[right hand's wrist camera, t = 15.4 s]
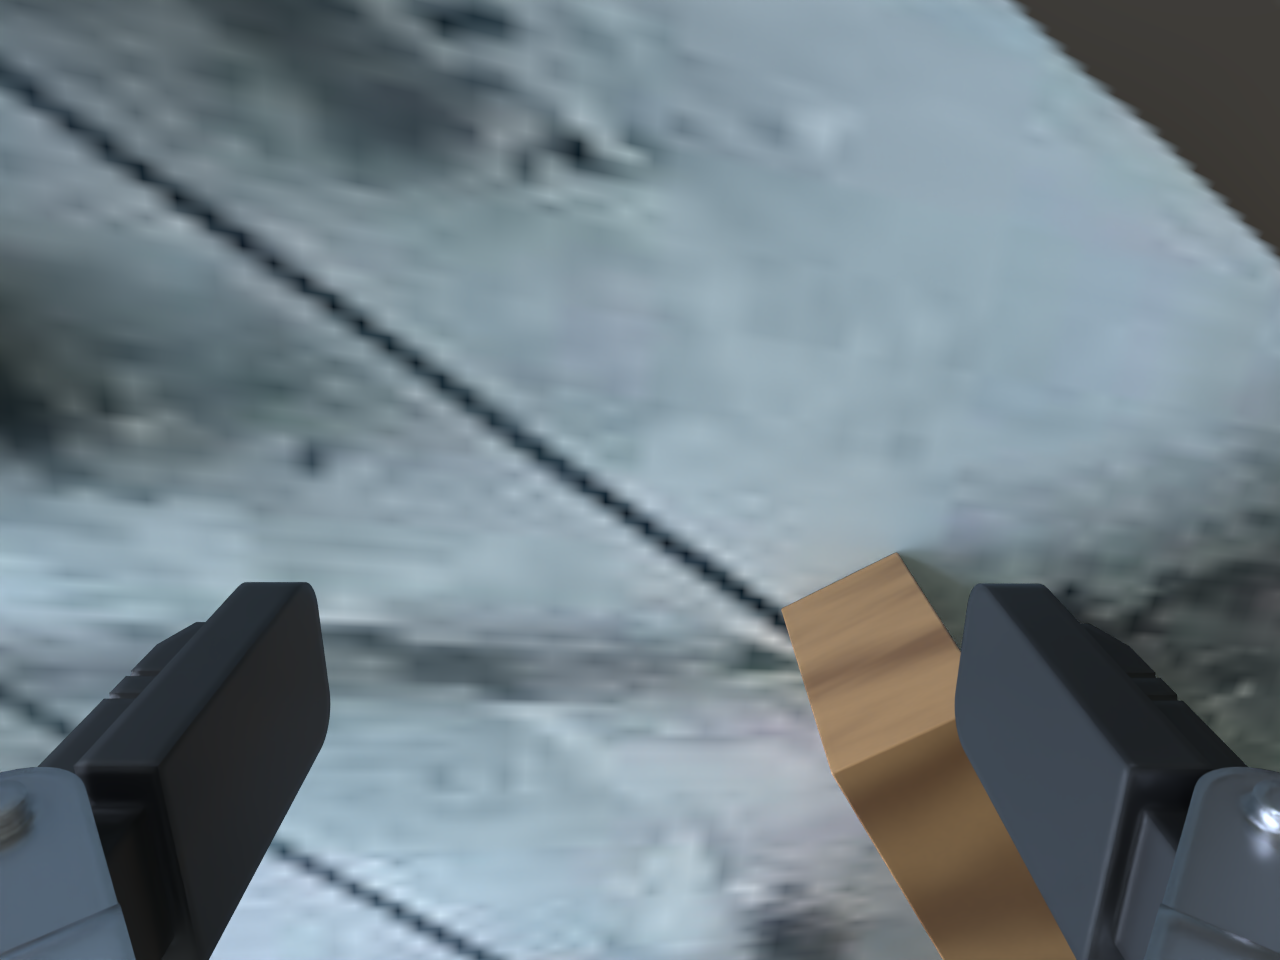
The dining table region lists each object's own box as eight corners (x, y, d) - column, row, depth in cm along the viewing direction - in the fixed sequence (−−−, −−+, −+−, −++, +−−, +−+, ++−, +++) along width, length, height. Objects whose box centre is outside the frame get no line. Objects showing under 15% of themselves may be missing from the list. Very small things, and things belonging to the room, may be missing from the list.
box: (780, 608, 43) (831, 773, 31) (896, 551, 42) (992, 700, 30) (1001, 990, 51) (1105, 1231, 40) (1103, 950, 50) (1239, 1185, 39)
